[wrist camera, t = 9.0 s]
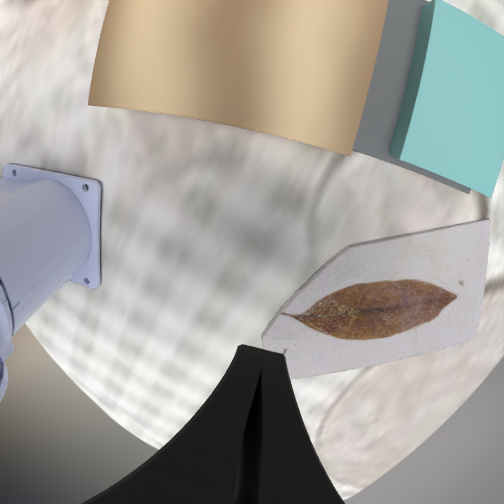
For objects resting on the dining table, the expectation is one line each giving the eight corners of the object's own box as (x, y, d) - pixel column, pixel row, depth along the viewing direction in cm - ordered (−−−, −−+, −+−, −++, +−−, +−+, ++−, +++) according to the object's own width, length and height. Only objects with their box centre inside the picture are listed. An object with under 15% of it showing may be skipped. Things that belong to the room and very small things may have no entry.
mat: (346, 147, 16) (347, 148, 16) (385, -14, 12) (386, -16, 11) (466, 192, 16) (469, 194, 16) (502, 46, 11) (505, 45, 11)
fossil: (274, 382, 23) (237, 272, 19) (275, 370, 24) (240, 261, 20) (475, 339, 20) (494, 222, 16) (470, 330, 21) (485, 215, 17)
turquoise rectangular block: (490, 197, 14) (474, 187, 15) (524, 51, 10) (506, 53, 11) (399, 159, 14) (388, 153, 16) (435, -3, 10) (422, 6, 12)
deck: (126, 102, 16) (87, 105, 13) (164, -49, 12) (136, -75, 8) (337, 145, 16) (350, 156, 12) (376, -18, 12) (396, -45, 8)
